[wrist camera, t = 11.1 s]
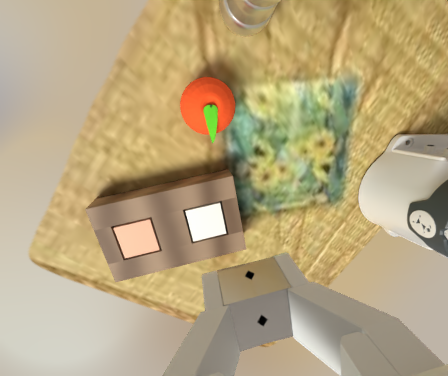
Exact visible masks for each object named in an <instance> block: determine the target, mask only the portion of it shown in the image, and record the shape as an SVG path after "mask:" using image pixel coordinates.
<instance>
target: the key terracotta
mask: <svg viewBox="0 0 448 376" xmlns="http://www.w3.org/2000/svg"><path fill="white" fill-rule="evenodd" d="M114 231H115V234H116V236H117V239H118V241H119V244H120V246H121V249H122V252H123V254H124V257H125V258H129V257H133V256H137V255H141V254H145V253H149V252H153V251H157V250H160V243H159V239H158V236H157V233H156V230H155V227H154V224H153V221H152V218H151V217H150V218H145V219H141V220H137V221H133V222H128V223H124V224H120V225H116V226H114Z"/></svg>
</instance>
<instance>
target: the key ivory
mask: <svg viewBox="0 0 448 376" xmlns="http://www.w3.org/2000/svg"><path fill="white" fill-rule="evenodd" d="M185 212H186V216H187V219H188V223H189V227H190V231H191V234H192V238H193V242H194V241H198V240H202V239H206V238H210V237H214V236H218V235H222V234H226V229H225V225H224V220H223V215H222V210H221V205H220V202H219V201H218V202H214V203H210V204H205V205H201V206H197V207H192V208H188V209H185Z"/></svg>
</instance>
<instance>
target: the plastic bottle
mask: <svg viewBox="0 0 448 376" xmlns="http://www.w3.org/2000/svg"><path fill="white" fill-rule="evenodd" d="M280 1H281V0H219V8H220V14H221V17H222V20H223V22H224V23H225V25H226V26H227V28H228V29H229V30H230V31H232V32H233V33H235V34H236V35H239V36H245V37H246V36H251V35H254V34H257V33H259V32H260V31H262V30H263V29H264V28H265V27H266V25H267V24H268V22H269V21H270V19H271V17H272V14H273V12H274V9H275V7H276V6H277V4H278V3H279V2H280Z"/></svg>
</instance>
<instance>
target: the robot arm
mask: <svg viewBox="0 0 448 376" xmlns="http://www.w3.org/2000/svg"><path fill="white" fill-rule="evenodd" d="M406 141H407V142H406ZM358 199H359V206H360V209H361V212H362V213H363V215H364V216H365V218H366V219H368V220H369V221H370V222H372V223H374V224H377V225H379V226H381V227H383V229H384V230H385V231H386V232H387V233H388V234H389V235H392V236H394V237H397V236H401V237H404V238H406V239H408V240H410V241H412V242H414V243H416V244H419V245H421V246H423V247H425V248H427V249H431V250H435V251H437V252H438V253H440V254H441V255H442V256H444V257H446V258H448V134H400V135H396V136H395V137H394V138H393V139H392V140H391V142H390V144H389V145H388V147H387V149H386V151H385V152H384V153H383V154H382V155H381V156H380V157H379V158H378V159H377V160H376V161H375V162H374V163H373V164H372V165H371V166H370V168H369V169H368V170H367V172H366V174H365V175H364V177H363V180H362V182H361V185H360V189H359V197H358ZM202 284H203V294H204V304H205V311H204V312H201V313H200V314H199V316H198V318H197V319H196V321H195V323H194V324H193V326H192V328H191V329H190V331H189V333H188V334H187V336H186V338H185V339H184V341H183V343H182V344H181V346H180V347H179V349H178V351H177V352H176V354H175V356H174V357H173V359H172V361H171V362H170V364H169V366H168V367H167V369H166V371H165V372H164V374H163V376H234V374H235V370H236V367H237V363H238V359H239V356H240V352H241V351H244V350H247V349H250V348H253V347H256V346H259V345H262V344H265V343H269V342H273V341H277V340H281V339H285V338H289V337H292V336H293V338H295V339H296V340H297V341H298V342H299V343H300V344H302V345H303V346H304V347H305V348H307V349H308V350H309V351H310V352H312V353H313V354H314V355H315V356H317V357H318V358H319V359H320V360H322V361H323V362H324V363H325V364H326V365H328V366H329V367H330V368H331V369H333V370H334V371H335V372H336V373H338V374H339V375H340V376H448V364H446V365H445V364H444V363H443V362H442V361H441V360H440V359H439V358H438V357H437V356H436V355H435V354H434V353H432V352H431V350H430V349H428V347H426V346H425V345H424V344H423V343H422V342H421V341H420V340H419V339H418V338H417V337H416V336H415V335H414V334H413V333H412V332H411V331H410V330H409V329H408V328H407V327H406V326H405V325H404V324H403V323H402V322H401V321H400V320H399V319H398V318H396V317H393V316H391V315H389V314H387V313H384V312H382V311H379V310H377V309H375V308H373V307H371V306H368V305H366V304H363V303H361V302H359V301H357V300H354V299H352V298H350V297H348V296H345V295H343V294H341V293H338V292H336V291H334V290H332V289H329V288H327V287H325V286H322V285H320V284H318V283H316V282H311V283H309V282H308V280H307V279H306V277H305V276H304V275H303V273H302V272H301V270H300V269H299V268H298V266H297V265H296V264H295V262H294V261H293V259H292V258H291V257H290V255H289V254H288V253H282V254H279V255H275V256H272V257H270V258H266V259H262V260H259V261H255V262H251V263H247V264H242V265H238V266H234V267H229V268H225V269H221V270H217V271H213V272H209V273H205V274H202Z"/></svg>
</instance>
